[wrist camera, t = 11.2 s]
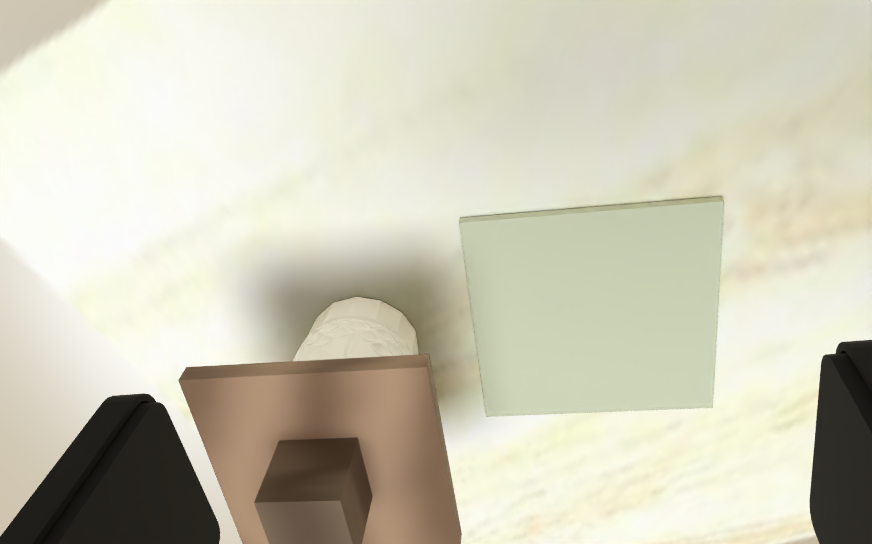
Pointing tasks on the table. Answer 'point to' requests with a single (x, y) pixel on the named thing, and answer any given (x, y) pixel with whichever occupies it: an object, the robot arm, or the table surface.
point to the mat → (596, 306)
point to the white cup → (358, 332)
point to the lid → (328, 450)
